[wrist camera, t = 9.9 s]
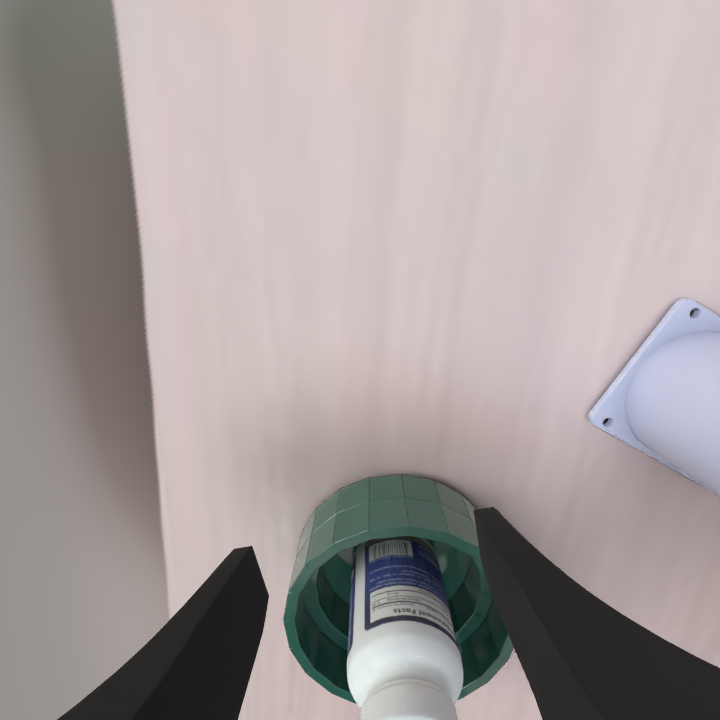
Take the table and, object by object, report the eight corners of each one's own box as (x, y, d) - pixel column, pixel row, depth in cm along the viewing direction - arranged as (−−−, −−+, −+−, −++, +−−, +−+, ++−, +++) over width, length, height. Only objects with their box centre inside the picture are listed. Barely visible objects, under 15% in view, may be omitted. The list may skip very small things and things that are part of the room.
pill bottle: (404, 606, 25) (427, 817, 16) (336, 568, 24) (316, 765, 15) (454, 550, 24) (511, 742, 14) (383, 508, 23) (394, 682, 14)
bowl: (528, 524, 24) (569, 592, 19) (426, 651, 27) (438, 739, 22) (357, 436, 22) (355, 486, 18) (269, 581, 25) (246, 658, 21)
